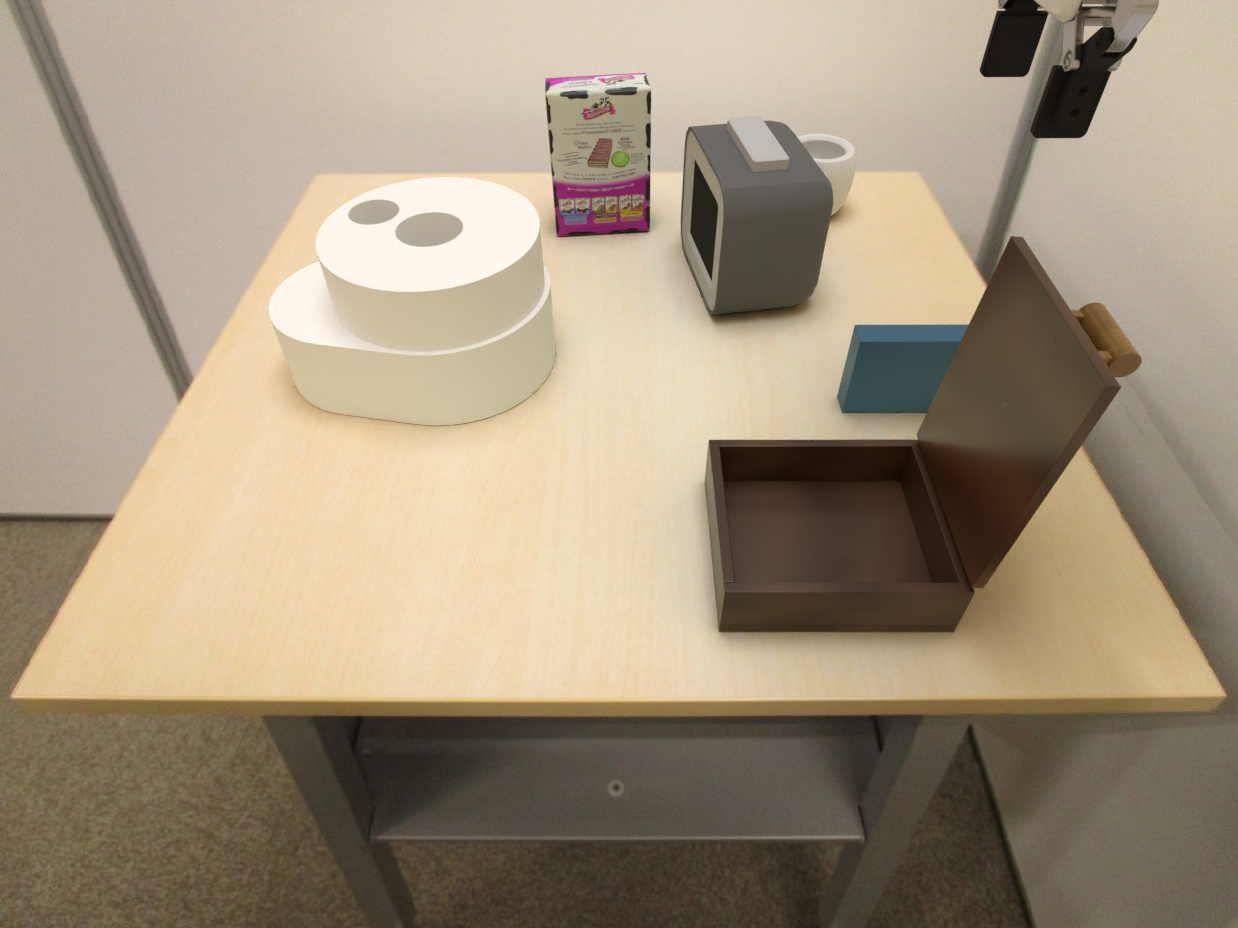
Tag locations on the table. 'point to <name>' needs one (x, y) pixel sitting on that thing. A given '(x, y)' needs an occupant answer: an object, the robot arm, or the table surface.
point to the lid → (1017, 405)
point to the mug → (833, 162)
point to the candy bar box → (600, 152)
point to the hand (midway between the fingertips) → (1027, 104)
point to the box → (830, 538)
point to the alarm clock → (752, 215)
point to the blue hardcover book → (896, 367)
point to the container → (421, 305)
